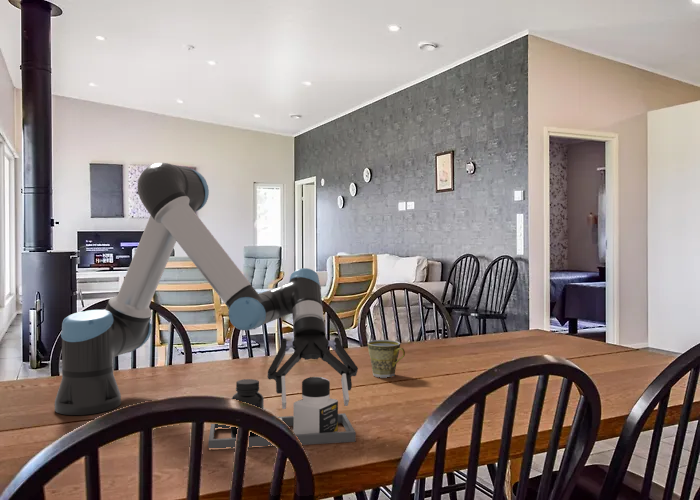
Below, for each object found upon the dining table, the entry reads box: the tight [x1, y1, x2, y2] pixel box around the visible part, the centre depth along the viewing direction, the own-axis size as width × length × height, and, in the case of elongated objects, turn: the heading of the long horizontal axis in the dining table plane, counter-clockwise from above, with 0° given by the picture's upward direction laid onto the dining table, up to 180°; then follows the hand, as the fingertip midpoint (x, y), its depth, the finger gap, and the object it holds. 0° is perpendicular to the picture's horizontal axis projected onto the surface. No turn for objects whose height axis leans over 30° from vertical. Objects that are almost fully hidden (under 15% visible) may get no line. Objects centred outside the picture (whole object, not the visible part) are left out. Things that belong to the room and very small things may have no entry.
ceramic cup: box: [367, 339, 406, 379], centre depth 181 cm, size 13×10×10 cm
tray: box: [207, 412, 357, 449], centre depth 128 cm, size 30×13×2 cm, turn 100°
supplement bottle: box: [230, 378, 264, 438], centre depth 127 cm, size 7×7×12 cm
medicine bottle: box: [292, 376, 339, 434], centre depth 130 cm, size 7×7×12 cm
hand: (315, 404), depth 129 cm, fingers open, 13 cm apart
